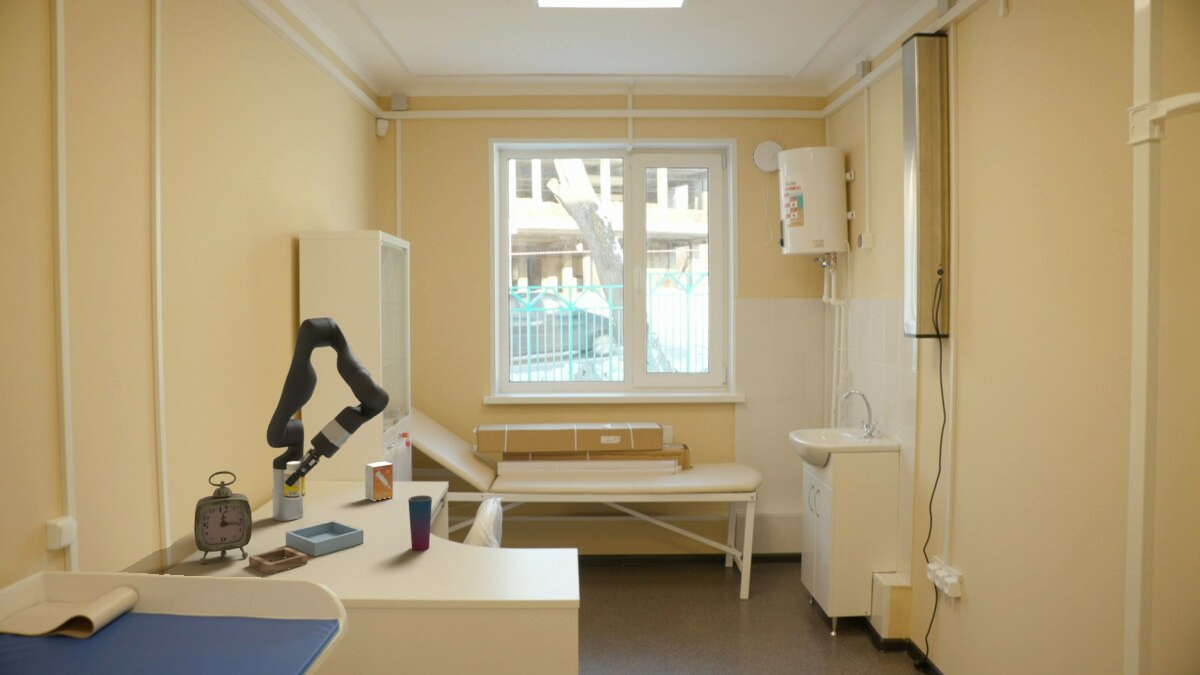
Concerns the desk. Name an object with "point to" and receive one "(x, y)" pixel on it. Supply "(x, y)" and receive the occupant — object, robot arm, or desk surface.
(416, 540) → the cup
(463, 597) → the desk surface
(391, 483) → the small box
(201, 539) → the tabletop clock
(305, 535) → the tray
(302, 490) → the supplement bottle
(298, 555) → the holder
